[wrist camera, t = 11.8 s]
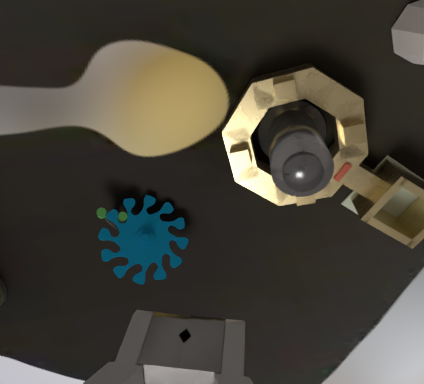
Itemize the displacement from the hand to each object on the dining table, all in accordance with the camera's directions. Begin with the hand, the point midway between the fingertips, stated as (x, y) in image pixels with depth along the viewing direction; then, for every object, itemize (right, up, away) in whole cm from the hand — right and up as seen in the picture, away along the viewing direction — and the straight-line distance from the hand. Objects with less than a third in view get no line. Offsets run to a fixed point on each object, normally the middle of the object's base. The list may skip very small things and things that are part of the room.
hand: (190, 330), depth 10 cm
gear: (-7, +1, +34) cm, 35 cm away
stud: (+9, +10, +27) cm, 30 cm away
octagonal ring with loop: (+13, +7, +27) cm, 31 cm away
